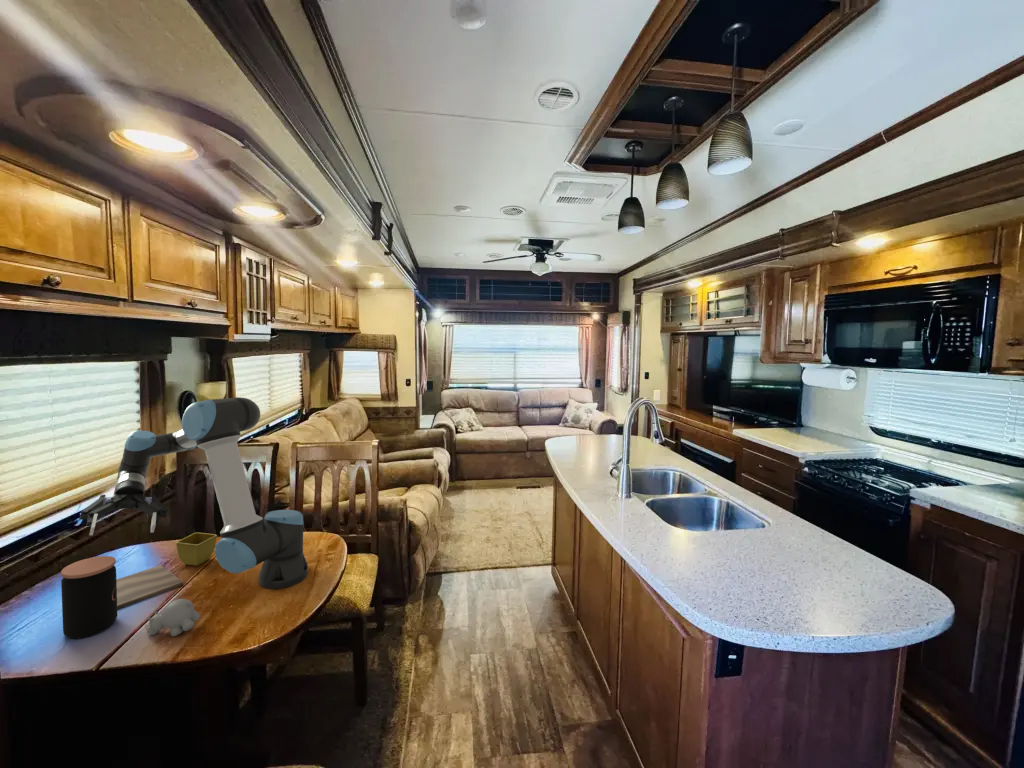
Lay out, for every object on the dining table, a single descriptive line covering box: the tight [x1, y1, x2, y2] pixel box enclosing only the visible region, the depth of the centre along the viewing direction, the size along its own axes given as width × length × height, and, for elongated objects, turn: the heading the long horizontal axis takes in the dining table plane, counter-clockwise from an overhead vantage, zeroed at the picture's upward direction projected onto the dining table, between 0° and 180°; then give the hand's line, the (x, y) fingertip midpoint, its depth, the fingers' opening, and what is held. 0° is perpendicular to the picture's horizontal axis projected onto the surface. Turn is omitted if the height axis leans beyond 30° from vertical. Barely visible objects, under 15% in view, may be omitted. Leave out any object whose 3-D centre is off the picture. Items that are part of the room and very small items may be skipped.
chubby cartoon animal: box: [144, 598, 201, 637], centre depth 116 cm, size 7×12×8 cm, turn 102°
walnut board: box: [116, 564, 184, 610], centre depth 136 cm, size 18×18×1 cm
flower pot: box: [175, 532, 218, 567], centre depth 153 cm, size 9×9×9 cm
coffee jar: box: [60, 555, 118, 640], centre depth 116 cm, size 11×11×18 cm
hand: (123, 530), depth 126 cm, fingers open, 13 cm apart
